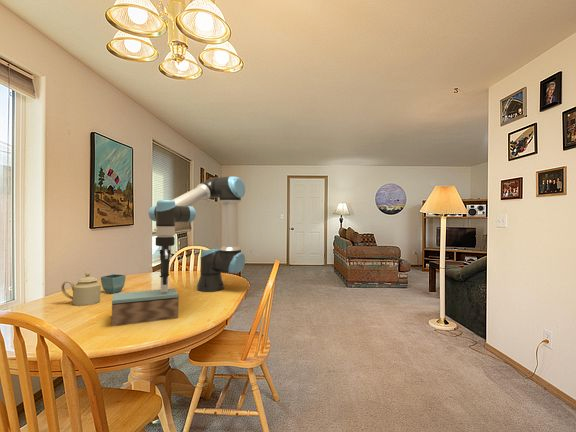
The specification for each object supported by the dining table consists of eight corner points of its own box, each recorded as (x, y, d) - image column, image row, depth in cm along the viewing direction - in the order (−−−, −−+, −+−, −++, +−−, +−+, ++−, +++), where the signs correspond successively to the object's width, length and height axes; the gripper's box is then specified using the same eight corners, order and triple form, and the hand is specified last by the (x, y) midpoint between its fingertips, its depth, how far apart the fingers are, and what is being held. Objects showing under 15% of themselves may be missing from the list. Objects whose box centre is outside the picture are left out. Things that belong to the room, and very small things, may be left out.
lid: (174, 291, 140) (174, 288, 140) (178, 297, 127) (178, 294, 127) (113, 296, 129) (113, 293, 129) (111, 303, 116) (112, 300, 117)
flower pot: (99, 293, 164) (100, 276, 164) (113, 289, 173) (113, 273, 173) (112, 295, 162) (113, 278, 162) (126, 291, 170) (126, 275, 170)
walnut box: (173, 308, 140) (174, 291, 140) (178, 317, 127) (178, 298, 127) (113, 315, 129) (113, 296, 129) (111, 326, 116) (111, 305, 116)
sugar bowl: (65, 309, 136) (66, 275, 137) (60, 303, 144) (61, 271, 144) (103, 302, 147) (103, 271, 147) (96, 298, 155) (97, 268, 155)
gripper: (154, 235, 135) (153, 289, 135) (156, 237, 123) (155, 296, 123) (172, 235, 138) (171, 287, 138) (176, 237, 127) (175, 294, 126)
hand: (164, 291), depth 131 cm, fingers closed
